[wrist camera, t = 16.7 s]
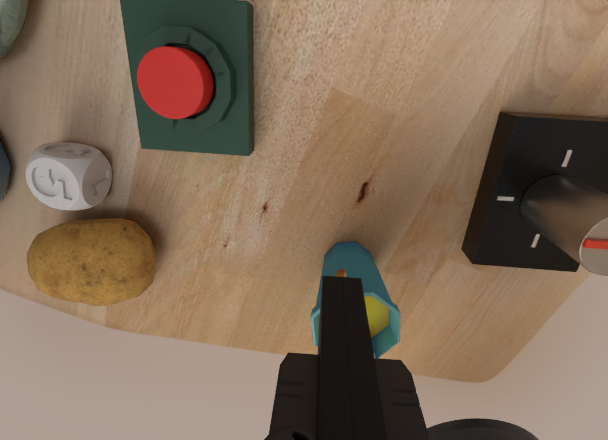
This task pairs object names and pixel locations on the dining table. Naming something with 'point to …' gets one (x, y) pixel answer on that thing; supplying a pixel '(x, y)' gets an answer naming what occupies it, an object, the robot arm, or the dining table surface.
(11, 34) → the cell model
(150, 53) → the button
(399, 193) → the dining table surface
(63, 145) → the die
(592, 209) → the dial
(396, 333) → the cup
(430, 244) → the dining table surface
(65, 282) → the potato
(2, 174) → the wine bottle
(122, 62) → the dining table surface
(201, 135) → the button box
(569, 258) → the panel
